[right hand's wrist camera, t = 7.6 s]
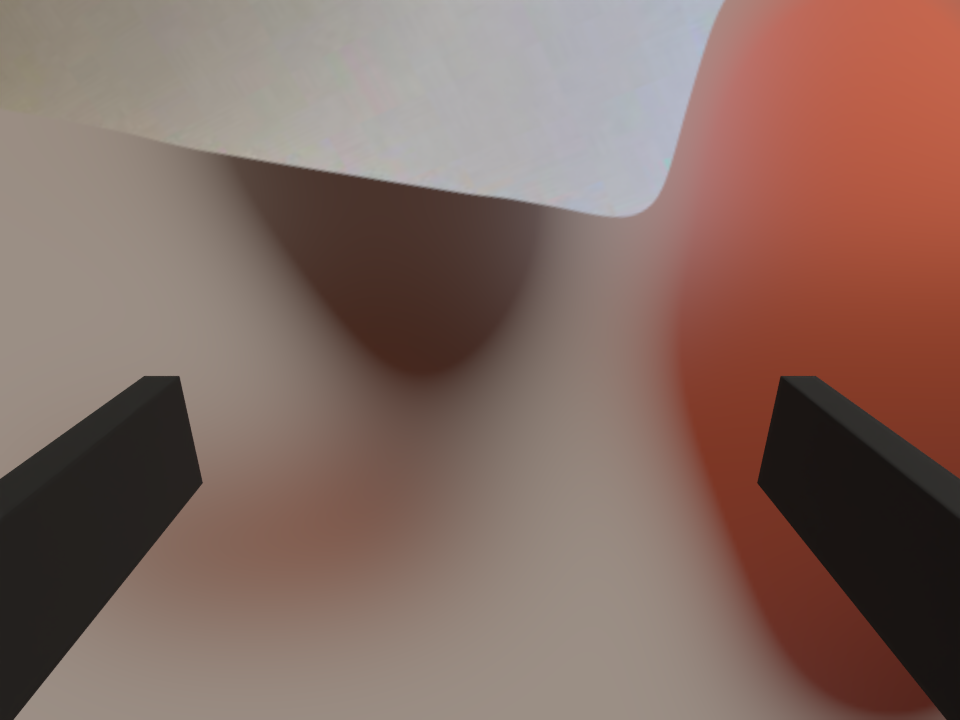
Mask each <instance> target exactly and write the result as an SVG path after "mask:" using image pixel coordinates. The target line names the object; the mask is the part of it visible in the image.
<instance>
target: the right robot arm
mask: <svg viewBox="0 0 960 720" xmlns="http://www.w3.org/2000/svg"><path fill="white" fill-rule="evenodd" d="M202 483H203V482H202V478H201V473H200V469H199V464H198V459H197V455H196V451H195V446H194V441H193V437H192V432H191V427H190V423H189V418H188V414H187V409H186V405H185V400H184V395H183V391H182V386H181V382H180V377H179V376H144V377H142V378H141V379H140V380H138V381H137V382H135V383H134V384H133V385H131V386H130V387H128V388H127V389H126V390H124V391H123V392H121V393H120V394H119V395H117V396H116V397H114V398H113V399H112V400H110V401H109V402H107V403H106V404H105V405H103V406H102V407H100V408H99V409H98V410H96V411H95V412H93V413H92V414H91V415H89V416H88V417H86V418H85V419H84V420H82V421H81V422H79V423H78V424H77V425H75V426H74V427H72V428H71V429H70V430H68V431H67V432H65V433H64V434H63V435H61V436H60V437H58V438H57V439H56V440H54V441H53V442H51V443H50V444H49V445H47V446H46V447H44V448H43V449H42V450H40V451H39V452H37V453H36V454H35V455H33V456H32V457H30V458H29V459H28V460H26V461H25V462H23V463H22V464H21V465H19V466H18V467H16V468H15V469H14V470H12V471H11V472H9V473H8V474H7V475H5V476H4V477H2V478H1V479H0V720H14V718H15V717H16V716H17V715H18V713H19V712H20V711H21V710H22V708H23V707H24V706H25V705H26V703H27V702H28V701H29V700H30V698H31V697H32V696H33V695H34V693H35V692H36V691H37V690H38V688H39V687H40V686H41V685H42V683H43V682H44V681H45V680H46V678H47V677H48V676H49V675H50V673H51V672H52V671H53V670H54V668H55V667H56V666H57V665H58V663H59V662H60V661H61V660H62V658H63V657H64V656H65V655H66V653H67V652H68V651H69V650H70V648H71V647H72V646H73V645H74V643H75V642H76V641H77V640H78V638H79V637H80V636H81V634H82V633H83V632H84V631H85V629H86V628H87V627H88V626H89V624H90V623H91V622H92V621H93V620H94V618H95V617H96V616H97V614H98V613H99V612H100V611H101V610H102V608H103V607H104V606H105V605H106V603H107V602H108V601H109V600H110V598H111V597H112V596H113V595H114V593H115V592H116V591H117V590H118V588H119V587H120V586H121V585H122V583H123V582H124V581H125V580H126V578H127V577H128V576H129V575H130V573H131V572H132V571H133V569H134V568H135V567H136V566H137V565H138V563H139V562H140V561H141V560H142V558H143V557H144V556H145V555H146V553H147V552H148V551H149V550H150V548H151V547H152V546H153V544H154V543H155V542H156V541H157V540H158V538H159V537H160V536H161V534H162V533H163V532H164V531H165V529H166V528H167V527H168V526H169V524H170V523H171V522H172V521H173V519H174V518H175V517H176V516H177V514H178V513H179V512H180V511H181V509H182V508H183V507H184V506H185V504H186V503H187V502H188V501H189V499H190V498H191V497H192V496H193V494H194V493H195V492H196V491H197V489H198V488H199V487H200V486H201V484H202ZM757 483H758V484H759V486H760V487H761V488H762V489H763V491H764V492H765V493H766V494H767V496H768V497H769V498H770V499H771V501H772V502H773V503H774V504H775V506H776V507H777V508H778V509H779V511H780V512H781V513H782V514H783V516H784V517H785V518H786V519H787V521H788V522H789V523H790V524H791V526H792V527H793V528H794V529H795V531H796V532H797V533H798V535H799V536H800V537H801V538H802V540H803V541H804V542H805V543H806V545H807V546H808V547H809V548H810V549H811V551H812V552H813V553H814V555H815V556H816V557H817V558H818V560H819V561H820V562H821V563H822V565H823V566H824V567H825V568H826V569H827V571H828V572H829V573H830V575H831V576H832V577H833V578H834V579H835V581H836V582H837V583H838V584H839V586H840V587H841V588H842V589H843V591H844V592H845V593H846V594H847V596H848V597H849V598H850V599H851V601H852V602H853V603H854V605H855V606H856V607H857V608H858V610H859V611H860V612H861V613H862V615H863V616H864V617H865V618H866V620H867V621H868V622H869V623H870V625H871V626H872V627H873V628H874V630H875V631H876V632H877V633H878V635H879V636H880V637H881V638H882V640H883V641H884V642H885V643H886V645H887V646H888V647H889V648H890V649H891V651H892V652H893V653H894V654H895V656H896V657H897V658H898V659H899V661H900V662H901V663H902V665H903V666H904V667H905V668H906V670H907V671H908V672H909V673H910V675H911V676H912V677H913V678H914V680H915V681H916V682H917V683H918V685H919V686H920V687H921V688H922V690H923V691H924V692H925V693H926V695H927V696H928V697H929V698H930V700H931V701H932V702H933V703H934V705H935V706H936V707H937V708H938V710H939V711H940V712H941V713H942V715H943V716H944V717H945V718H946V720H960V479H959V478H958V477H956V476H955V475H953V474H952V473H951V472H949V471H948V470H946V469H945V468H944V467H942V466H941V465H939V464H938V463H937V462H935V461H934V460H932V459H931V458H930V457H928V456H927V455H925V454H924V453H923V452H921V451H920V450H918V449H917V448H916V447H914V446H913V445H911V444H910V443H909V442H907V441H906V440H904V439H903V438H902V437H900V436H899V435H897V434H896V433H895V432H893V431H892V430H890V429H889V428H888V427H886V426H885V425H883V424H882V423H881V422H879V421H878V420H876V419H875V418H874V417H872V416H871V415H869V414H868V413H867V412H865V411H864V410H862V409H861V408H860V407H858V406H857V405H855V404H854V403H853V402H851V401H850V400H848V399H847V398H846V397H844V396H843V395H841V394H840V393H839V392H837V391H836V390H834V389H833V388H832V387H830V386H829V385H827V384H826V383H825V382H823V381H822V380H820V379H819V378H818V377H816V376H781V377H780V382H779V386H778V391H777V395H776V400H775V404H774V409H773V414H772V418H771V423H770V427H769V432H768V437H767V441H766V446H765V450H764V455H763V459H762V464H761V469H760V473H759V478H758V482H757Z"/></svg>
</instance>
